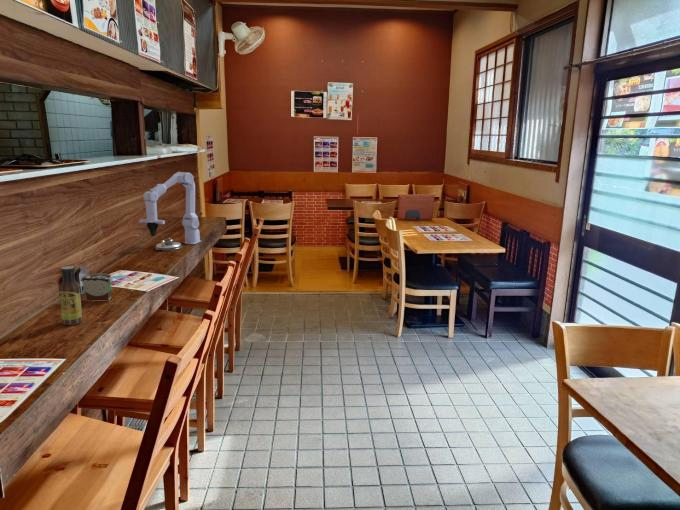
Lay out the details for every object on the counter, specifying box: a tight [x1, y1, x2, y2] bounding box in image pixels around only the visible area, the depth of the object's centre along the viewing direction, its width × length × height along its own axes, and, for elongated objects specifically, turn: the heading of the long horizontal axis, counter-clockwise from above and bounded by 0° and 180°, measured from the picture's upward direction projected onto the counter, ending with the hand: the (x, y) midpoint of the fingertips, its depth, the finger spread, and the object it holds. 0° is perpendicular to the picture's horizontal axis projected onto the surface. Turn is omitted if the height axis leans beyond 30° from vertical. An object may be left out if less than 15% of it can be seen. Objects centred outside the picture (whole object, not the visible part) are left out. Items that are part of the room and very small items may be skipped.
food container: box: [80, 272, 114, 301], centre depth 190 cm, size 12×6×10 cm, turn 84°
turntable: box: [155, 239, 182, 249], centre depth 282 cm, size 14×14×5 cm
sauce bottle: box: [58, 265, 83, 326], centre depth 163 cm, size 6×6×20 cm
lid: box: [163, 237, 174, 245], centre depth 282 cm, size 5×5×4 cm
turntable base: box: [154, 244, 183, 252], centre depth 283 cm, size 15×15×1 cm
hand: (153, 235), depth 276 cm, fingers closed
